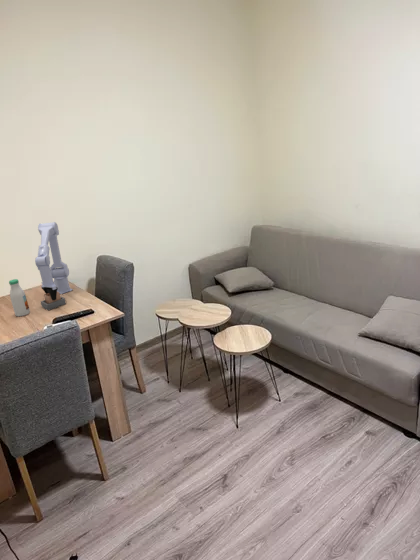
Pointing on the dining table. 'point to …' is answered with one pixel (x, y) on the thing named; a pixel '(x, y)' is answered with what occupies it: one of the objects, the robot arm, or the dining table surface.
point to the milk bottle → (18, 299)
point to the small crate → (49, 299)
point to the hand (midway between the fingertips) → (52, 298)
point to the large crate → (53, 304)
